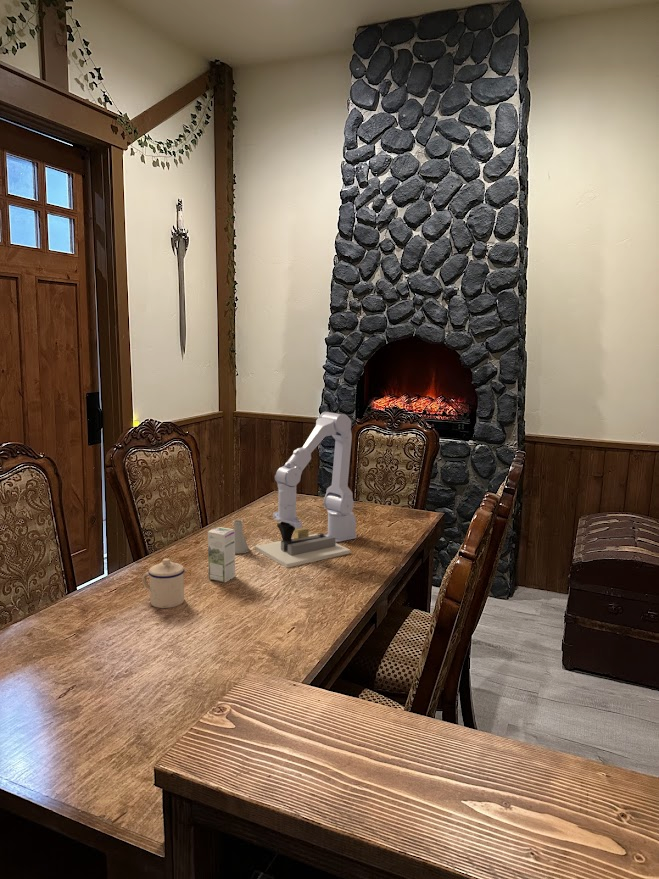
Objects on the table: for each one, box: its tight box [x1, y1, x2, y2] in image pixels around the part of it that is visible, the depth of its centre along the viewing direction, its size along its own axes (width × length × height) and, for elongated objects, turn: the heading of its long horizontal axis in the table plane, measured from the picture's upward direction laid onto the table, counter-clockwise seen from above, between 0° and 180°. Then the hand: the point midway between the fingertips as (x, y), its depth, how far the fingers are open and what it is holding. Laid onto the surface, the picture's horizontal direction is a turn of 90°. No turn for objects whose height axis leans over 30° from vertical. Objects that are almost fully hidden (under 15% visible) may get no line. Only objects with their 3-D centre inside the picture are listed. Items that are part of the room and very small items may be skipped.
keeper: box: [293, 526, 309, 539], centre depth 214 cm, size 4×2×4 cm, turn 125°
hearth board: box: [254, 533, 351, 569], centre depth 208 cm, size 24×20×4 cm
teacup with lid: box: [141, 558, 186, 609], centre depth 168 cm, size 12×9×12 cm
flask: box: [232, 519, 250, 555], centre depth 208 cm, size 7×7×10 cm
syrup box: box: [207, 526, 236, 584], centre depth 184 cm, size 6×6×14 cm
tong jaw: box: [280, 532, 326, 552], centre depth 209 cm, size 15×2×4 cm, turn 119°
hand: (286, 544), depth 208 cm, fingers closed
